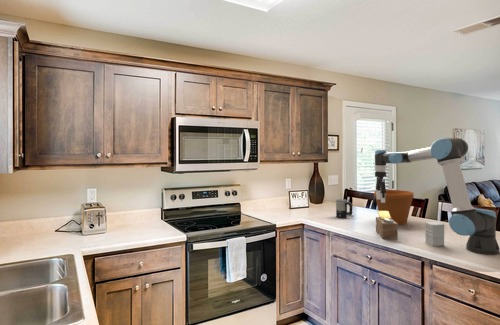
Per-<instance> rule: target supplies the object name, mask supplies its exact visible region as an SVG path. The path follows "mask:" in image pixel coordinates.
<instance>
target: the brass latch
mask: <svg viewBox="0 0 500 325" xmlns="http://www.w3.org/2000/svg"><path fill="white" fill-rule="evenodd" d="M377 214H378V217H380V219H384V218H390V219H391V217H390V214H389V211H378V210H377Z"/></svg>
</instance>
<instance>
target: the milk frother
mask: <svg viewBox="0 0 500 325" xmlns="http://www.w3.org/2000/svg"><path fill="white" fill-rule="evenodd" d="M348 206H349V210H348ZM335 208H336V209H335V210H336V211H335V212H336V213H335V218H338V219H346V218H348V216H352V215H353V204H352V202H350V201H347V199H342V198H341V199H335Z"/></svg>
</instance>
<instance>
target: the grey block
mask: <svg viewBox="0 0 500 325" xmlns="http://www.w3.org/2000/svg"><path fill="white" fill-rule="evenodd" d="M384 221H385V223H393V220H391V219H390V218H384Z"/></svg>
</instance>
